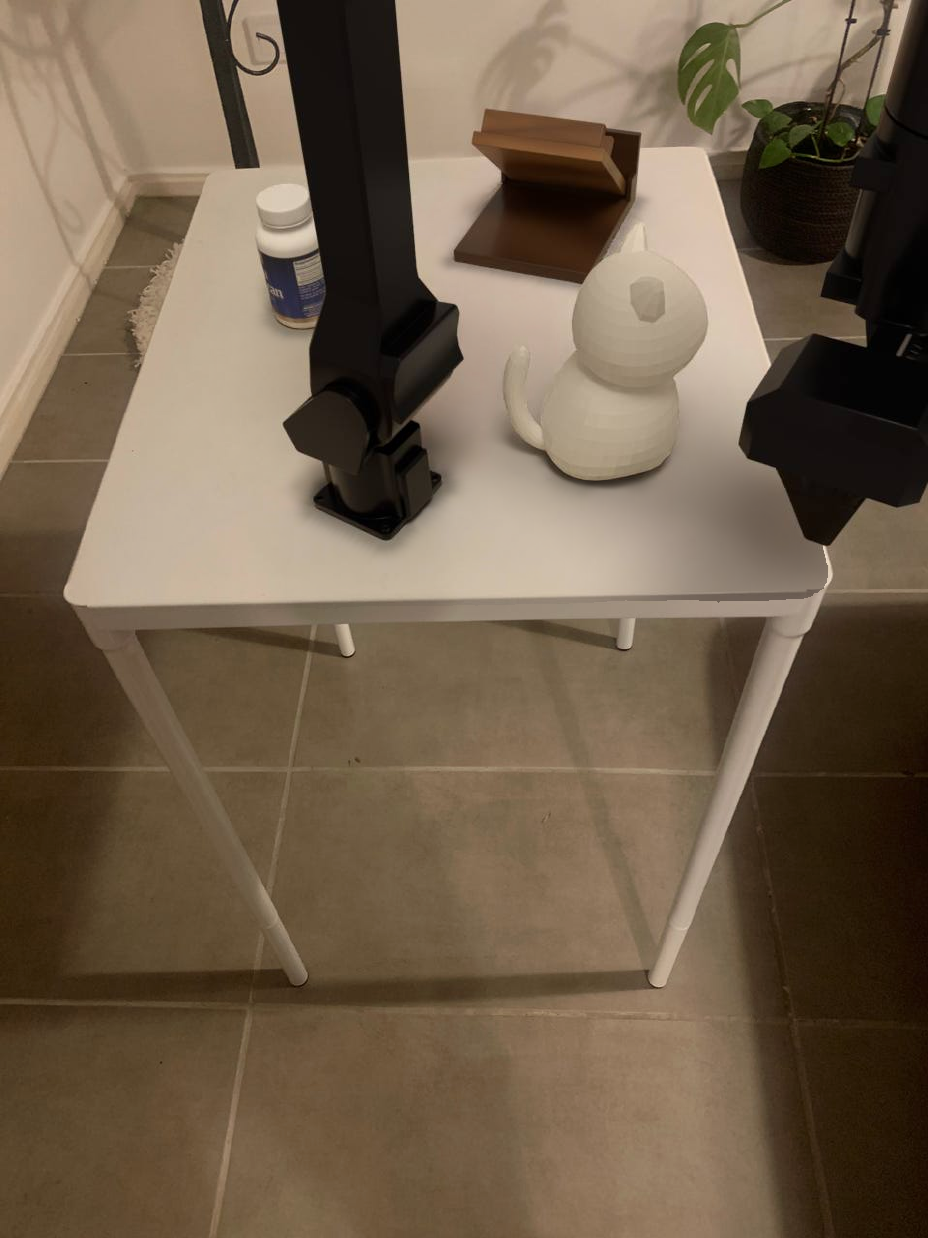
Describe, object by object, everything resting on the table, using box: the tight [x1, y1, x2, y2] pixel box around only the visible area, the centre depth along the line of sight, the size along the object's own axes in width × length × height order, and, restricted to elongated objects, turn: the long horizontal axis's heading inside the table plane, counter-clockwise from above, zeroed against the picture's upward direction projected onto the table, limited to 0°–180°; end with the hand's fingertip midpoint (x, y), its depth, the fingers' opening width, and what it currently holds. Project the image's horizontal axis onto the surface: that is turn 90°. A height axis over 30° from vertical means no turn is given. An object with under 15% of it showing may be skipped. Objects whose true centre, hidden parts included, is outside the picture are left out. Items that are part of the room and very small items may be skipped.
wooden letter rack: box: [470, 108, 628, 196], centre depth 79 cm, size 11×11×3 cm
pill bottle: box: [254, 183, 325, 329], centre depth 73 cm, size 5×5×10 cm
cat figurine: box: [501, 221, 709, 481], centre depth 59 cm, size 9×12×15 cm
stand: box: [453, 127, 642, 285], centre depth 80 cm, size 14×12×6 cm
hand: (852, 473), depth 42 cm, fingers open, 9 cm apart
